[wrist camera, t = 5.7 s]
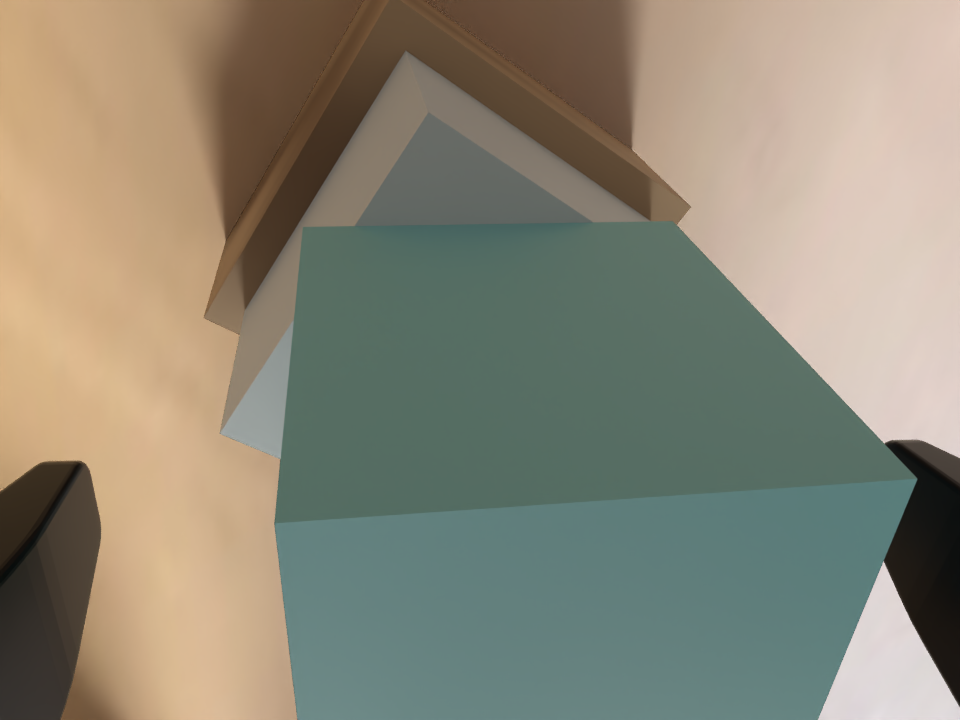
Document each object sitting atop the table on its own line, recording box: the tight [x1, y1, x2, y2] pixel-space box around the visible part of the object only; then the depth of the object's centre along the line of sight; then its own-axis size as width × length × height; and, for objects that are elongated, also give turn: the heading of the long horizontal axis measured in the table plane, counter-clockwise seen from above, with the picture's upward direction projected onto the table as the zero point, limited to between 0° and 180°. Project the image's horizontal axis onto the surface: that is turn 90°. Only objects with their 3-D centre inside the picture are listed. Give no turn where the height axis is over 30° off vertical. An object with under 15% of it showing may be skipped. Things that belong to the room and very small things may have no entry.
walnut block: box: [204, 0, 691, 335], centre depth 15 cm, size 6×6×4 cm
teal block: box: [274, 221, 917, 720], centre depth 9 cm, size 4×4×5 cm
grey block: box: [220, 50, 650, 459], centre depth 12 cm, size 5×5×4 cm
